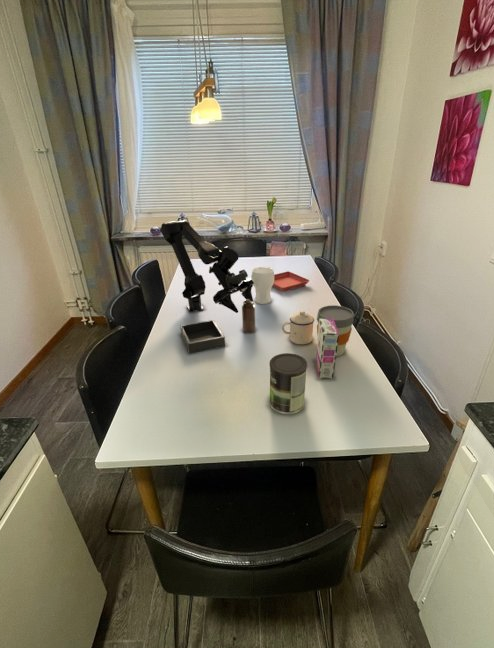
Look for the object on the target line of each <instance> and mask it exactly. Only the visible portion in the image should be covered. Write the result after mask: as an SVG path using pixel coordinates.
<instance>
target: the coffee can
mask: <svg viewBox="0 0 494 648" xmlns="http://www.w3.org/2000/svg"><path fill="white" fill-rule="evenodd" d="M307 369H308V361H307V360H306V358H305V357H304V356H301V355H299V354H296V353H292V352H291V353H289V352H288V353H287V352H286V353H285V352H284V353H279V354H277V355H274V356H273V357H272V358H270V360H269V400H268V402H269V406H270V408H271V409H272V410H273V411H274V412H276V413H279V414H281V415H294V414H297V413H299V412H301V411H302V410H303V409H304V407H305V396H306V395H305V393H306V381H307Z"/></svg>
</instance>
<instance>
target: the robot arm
mask: <svg viewBox="0 0 494 648" xmlns="http://www.w3.org/2000/svg"><path fill="white" fill-rule="evenodd" d="M160 233H161V234H162V237H163V238H164V240H165V241H166V242H167V243H168V244H170V245H171V247H172V249H173V252H174V254H175V257H176V259H177V261H178V263H179V266H180V269H181V270H182V274H183V276H184V282H183V284H184V287H185V288H184V289H183V291H182V292H181V295H182V297H183V298H184V299H186V300H187V303H188V305H187V306H186V307H187V309H188V311H189V313H193V312H197V311H199V312H200V311H203V310H205V307H203V304H202V298H201V296H202V295H203V296H204V295H205V292H206V288H207V287H206V282H205V280H204V278H203V275H202V274H198V273H197V272H196V270H195V268H194V266H193V262H192V261H191V259H190V255H189V253H188V251H187V249H186V246H185V244H184V241H183V240H184V239H186V241H187V242H188V243H189V244H190V245H191V246H192V247H193V248H194V249H195V251H197V255H198V258H199V259H200V260H201V262H202V263H203V264H204V265H206V266H208V265H210V266H209V269H208V273H209V274H214V277H216V279H217V280H218V283H217V284H218V286H221V288H222V289H220V290H218V291H217V292H216V293H215V294H214V295H213V296H212V300H213V302H214V304H215V305H217V304H218V305H219V306H220V305H221V306H222V307H223V306H224V307H226V308H227V309H229V310H231V311H232V312H234V313H236V314H238V313H239V310H238V308H237V305H236V304H235V303H234V301H233V300H232V294H233V295H234V294H235V293H237V292H240V293H241V296H242V297H243V298H244V299H245V300H246V299H250V301H253V305H254V306H255V300H254V297H253V293H252V288H254V286H253V284H254V282H253V281H252V279H251V278H248V277H249V275H248V272H247V271H246V269H241V270H239V271H238V273H237V274H236V273H234V272H231V271H230V270H231V269H232V268H233V267H234V266H235V264H236V263H237V262H238V260H239V254H238V253H237V251H236V250H234V249H232V248H230V247H229V246H224V247H223V248H222V250H220V249H219V248H218V247H217V246H215V245H214V244H213V243H210V242H207V241H206V240H205V239H204V238H203V236H201V234H199V233H198V231H196V230H195V229H194V228H193V227H192V225H190V222H189V221H188V220H180V221H176V220H173V221H167V222H163V223H162V224H161V226H160ZM183 237H184V239H183ZM211 264H212V265H211Z"/></svg>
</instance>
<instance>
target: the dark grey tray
mask: <svg viewBox="0 0 494 648" xmlns="http://www.w3.org/2000/svg"><path fill="white" fill-rule="evenodd" d="M179 328H180V335H181V338H182V339H183V342H184V344H185V346H186V348H187V351H188V353H189V354H193V353H199V352H203V351H208V350H214V349H219V348H223V347H226V338H225V335H224V334H223V332H222V331H221V329H220V328H219V326H218V325H217V323H216V321H215V320H214V319H209V320H204V321H198V322H192V323H187V324H182V325H180V326H179Z"/></svg>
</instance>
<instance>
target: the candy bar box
mask: <svg viewBox="0 0 494 648" xmlns="http://www.w3.org/2000/svg"><path fill="white" fill-rule="evenodd" d="M316 340H317V341H316V349H315V366H316V371H317V376H318V379H323V380H324V379H326V380H333V379H334V375H335V369H336V360H337V356H336V354H337V347H338V340H339V333H338V330H337V327H336V324H335V322H334V319H319V329H318V337H317V339H316Z"/></svg>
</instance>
